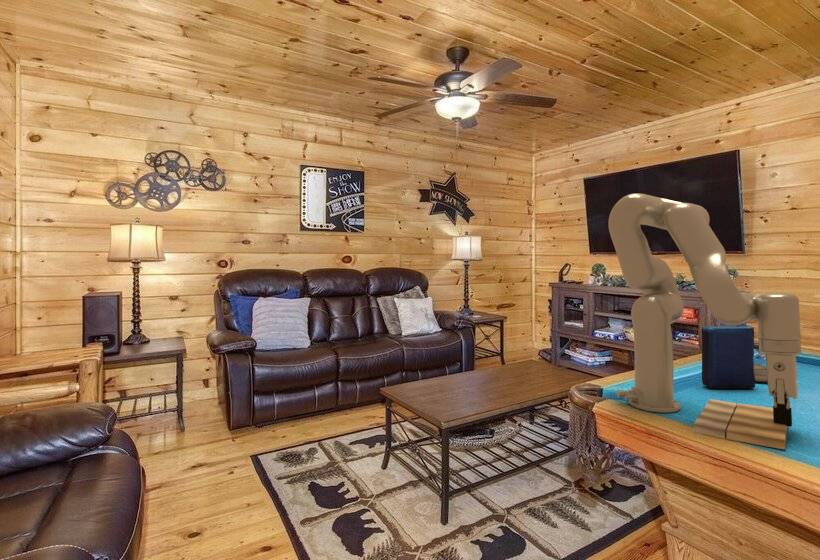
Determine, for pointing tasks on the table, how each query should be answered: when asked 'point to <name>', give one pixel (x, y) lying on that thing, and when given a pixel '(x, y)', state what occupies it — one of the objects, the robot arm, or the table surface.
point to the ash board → (715, 418)
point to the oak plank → (756, 427)
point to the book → (728, 356)
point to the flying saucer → (760, 373)
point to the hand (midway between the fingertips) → (782, 424)
